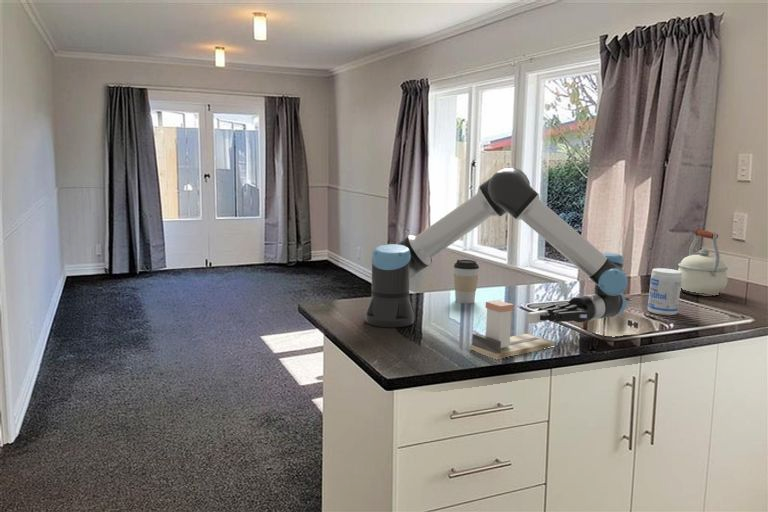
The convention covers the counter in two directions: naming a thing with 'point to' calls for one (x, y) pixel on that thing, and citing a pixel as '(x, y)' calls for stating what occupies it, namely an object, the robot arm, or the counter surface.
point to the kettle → (703, 268)
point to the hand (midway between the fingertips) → (529, 318)
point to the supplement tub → (664, 291)
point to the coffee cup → (465, 280)
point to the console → (517, 346)
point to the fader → (499, 321)
